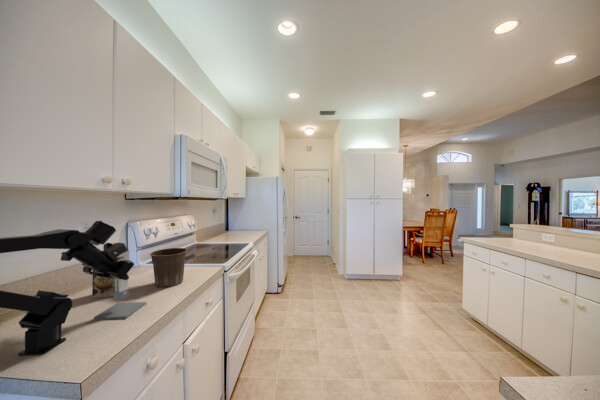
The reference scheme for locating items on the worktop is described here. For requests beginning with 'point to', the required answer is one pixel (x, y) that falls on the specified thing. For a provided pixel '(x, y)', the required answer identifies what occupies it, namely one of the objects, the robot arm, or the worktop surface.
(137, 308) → the plate
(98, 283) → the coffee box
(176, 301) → the worktop surface
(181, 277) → the plant pot
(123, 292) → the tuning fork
